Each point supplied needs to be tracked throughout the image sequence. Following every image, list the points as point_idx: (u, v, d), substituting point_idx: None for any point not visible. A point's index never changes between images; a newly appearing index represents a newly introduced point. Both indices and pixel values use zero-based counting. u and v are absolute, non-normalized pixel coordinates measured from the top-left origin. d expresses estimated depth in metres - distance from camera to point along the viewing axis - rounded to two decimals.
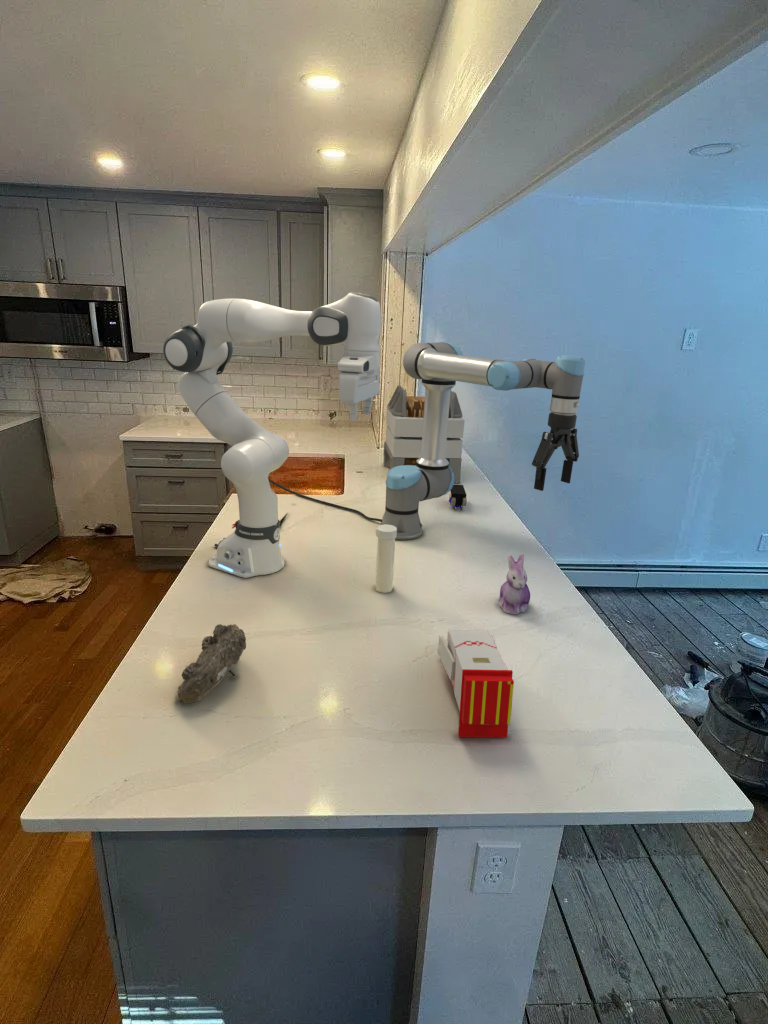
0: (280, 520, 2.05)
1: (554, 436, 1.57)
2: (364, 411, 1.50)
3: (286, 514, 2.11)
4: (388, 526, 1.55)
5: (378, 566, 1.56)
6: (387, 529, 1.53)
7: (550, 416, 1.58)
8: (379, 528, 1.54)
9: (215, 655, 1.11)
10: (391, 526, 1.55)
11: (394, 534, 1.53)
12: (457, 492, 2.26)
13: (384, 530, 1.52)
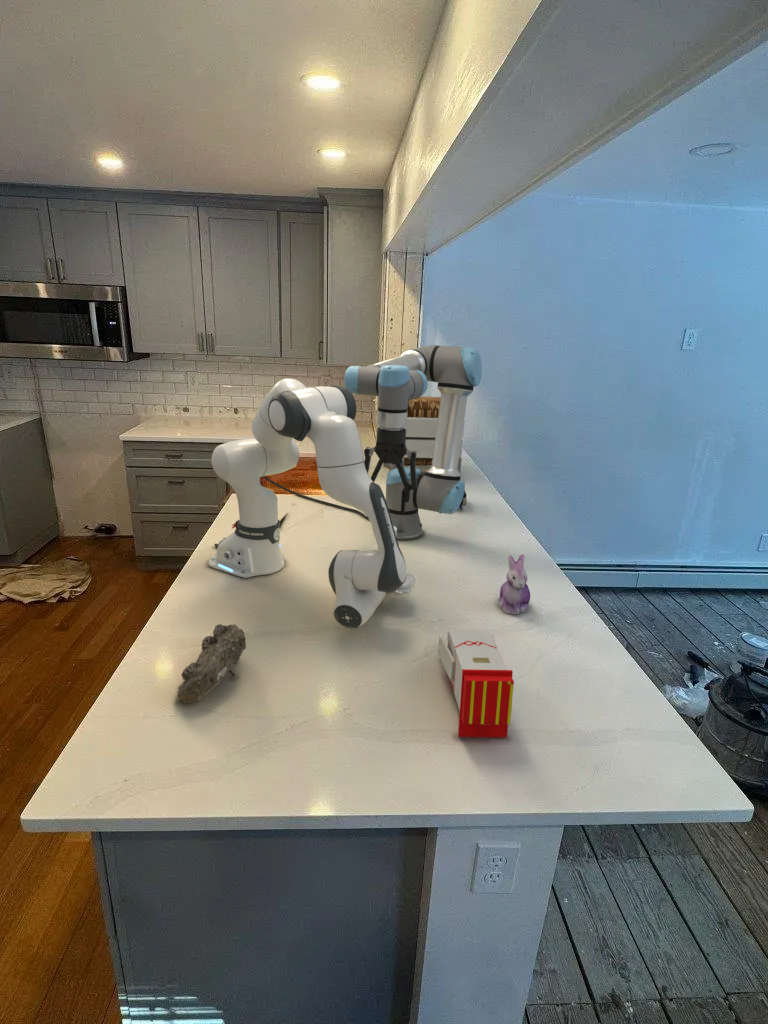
0: (280, 520, 2.05)
1: None
2: None
3: (286, 514, 2.11)
4: None
5: None
6: None
7: (403, 433, 1.43)
8: None
9: (215, 655, 1.11)
10: None
11: None
12: None
13: None
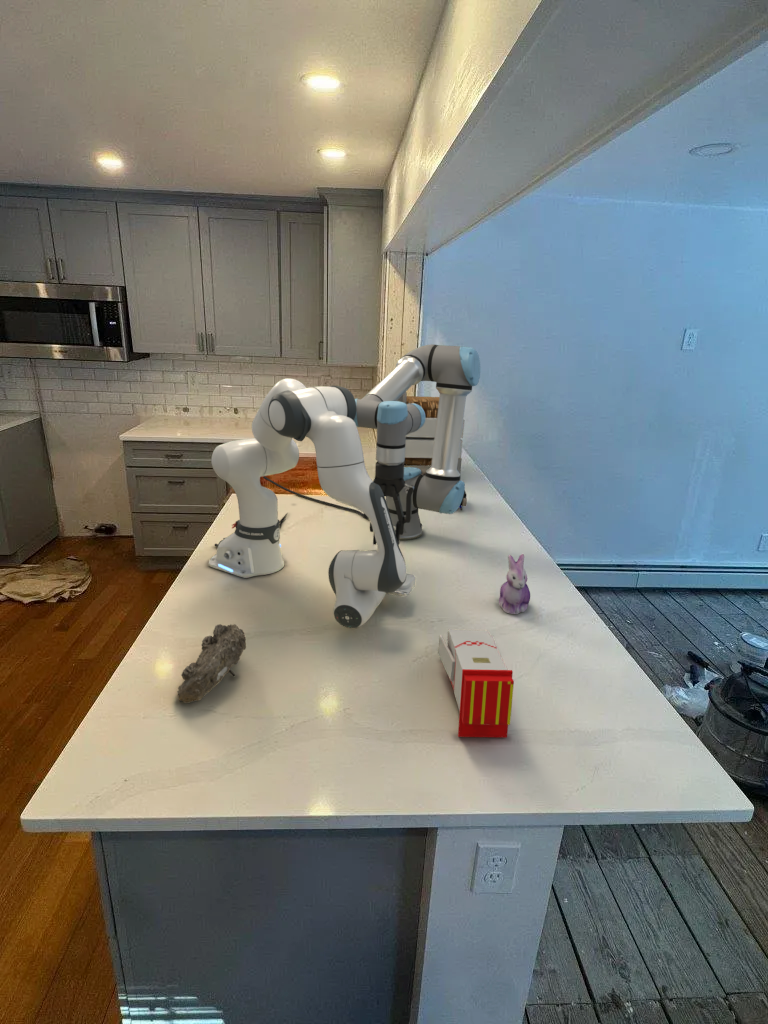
0: (280, 520, 2.05)
1: None
2: None
3: (286, 514, 2.11)
4: None
5: None
6: None
7: (401, 468, 1.46)
8: None
9: (215, 655, 1.11)
10: None
11: None
12: None
13: None
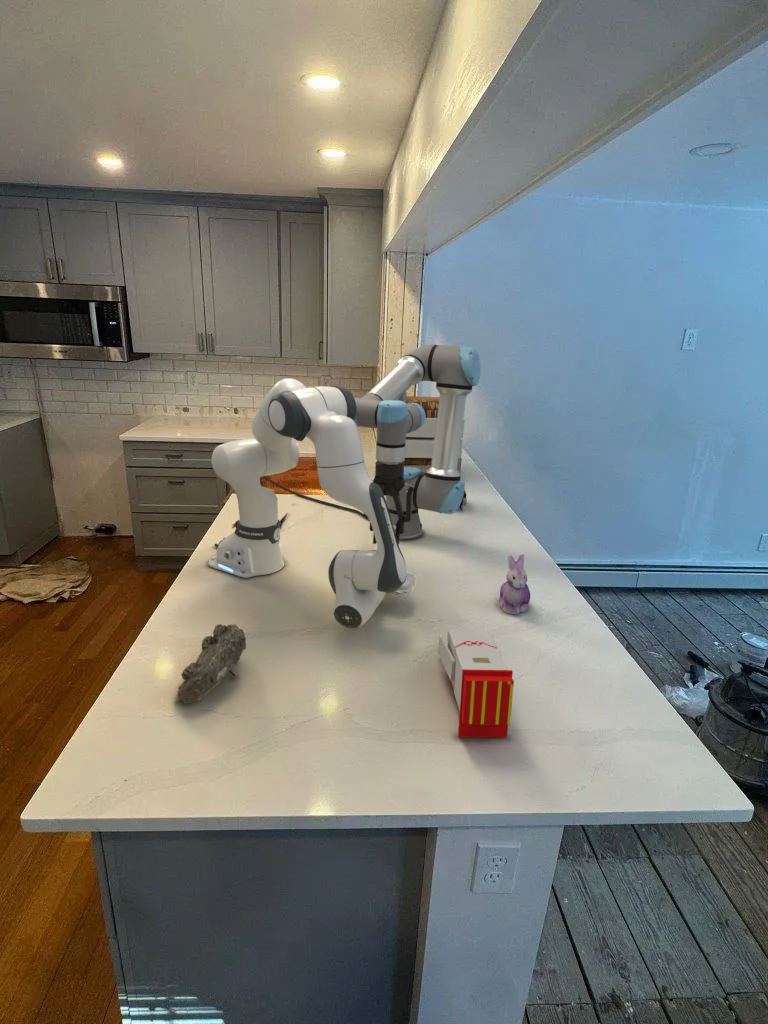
0: (280, 520, 2.05)
1: None
2: None
3: (286, 514, 2.11)
4: None
5: None
6: None
7: (401, 467, 1.46)
8: None
9: (215, 655, 1.11)
10: None
11: None
12: None
13: (393, 526, 1.55)
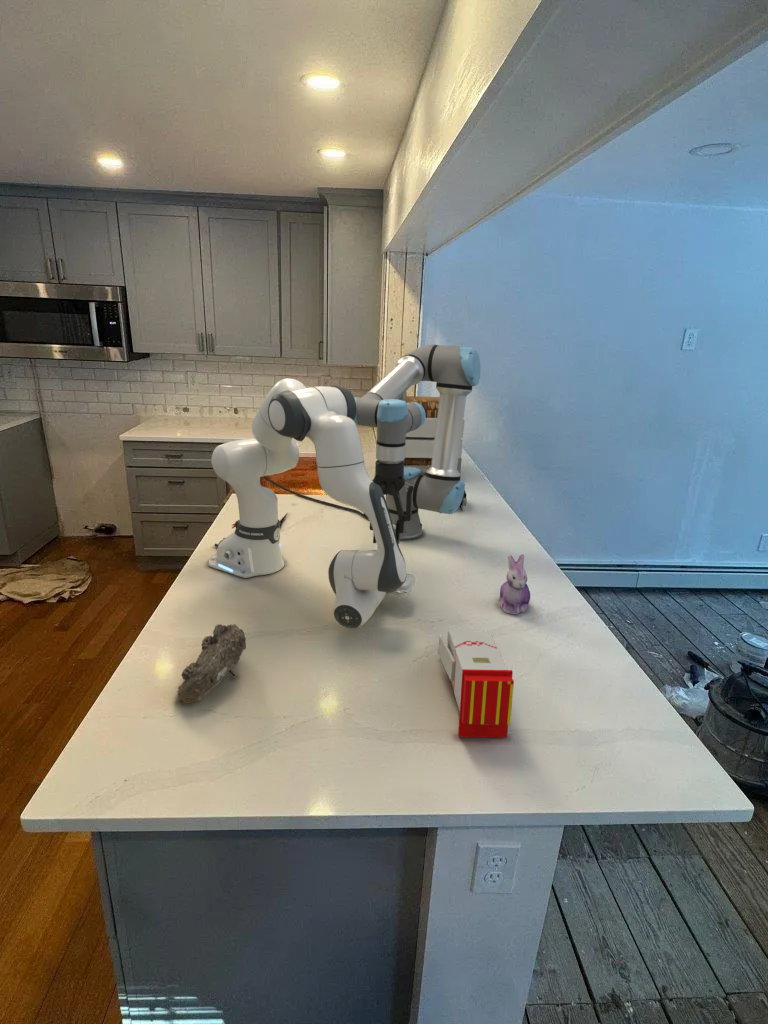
0: (280, 520, 2.05)
1: None
2: None
3: (286, 514, 2.11)
4: None
5: None
6: None
7: (401, 466, 1.46)
8: None
9: (215, 655, 1.11)
10: None
11: None
12: None
13: None
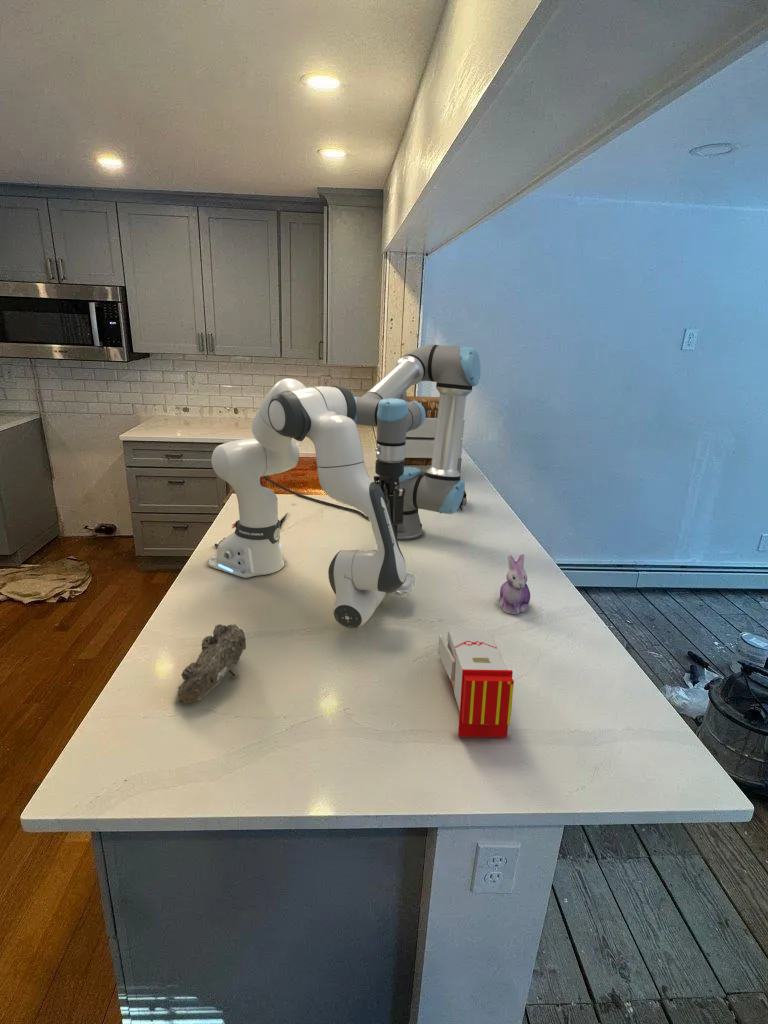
0: (280, 520, 2.05)
1: None
2: None
3: (286, 514, 2.11)
4: None
5: None
6: None
7: None
8: None
9: (215, 655, 1.11)
10: None
11: None
12: None
13: None
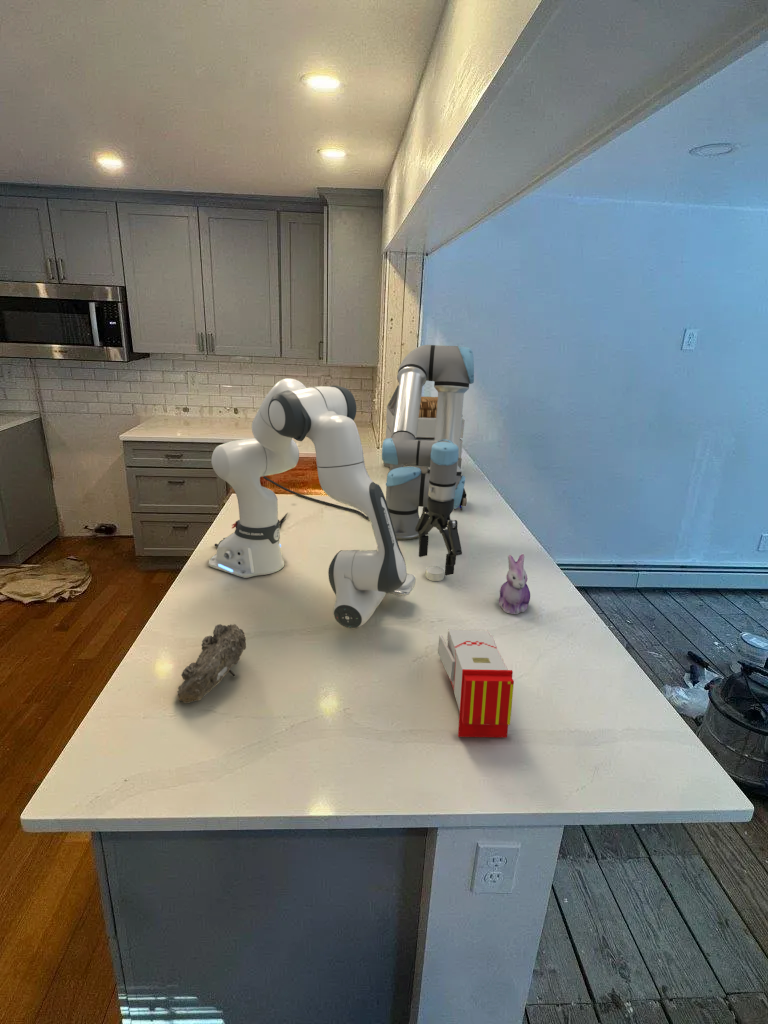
0: (280, 520, 2.05)
1: None
2: None
3: (286, 514, 2.11)
4: (434, 567, 1.69)
5: None
6: (437, 571, 1.67)
7: None
8: (430, 571, 1.67)
9: (215, 655, 1.11)
10: (436, 567, 1.70)
11: None
12: None
13: (436, 572, 1.66)
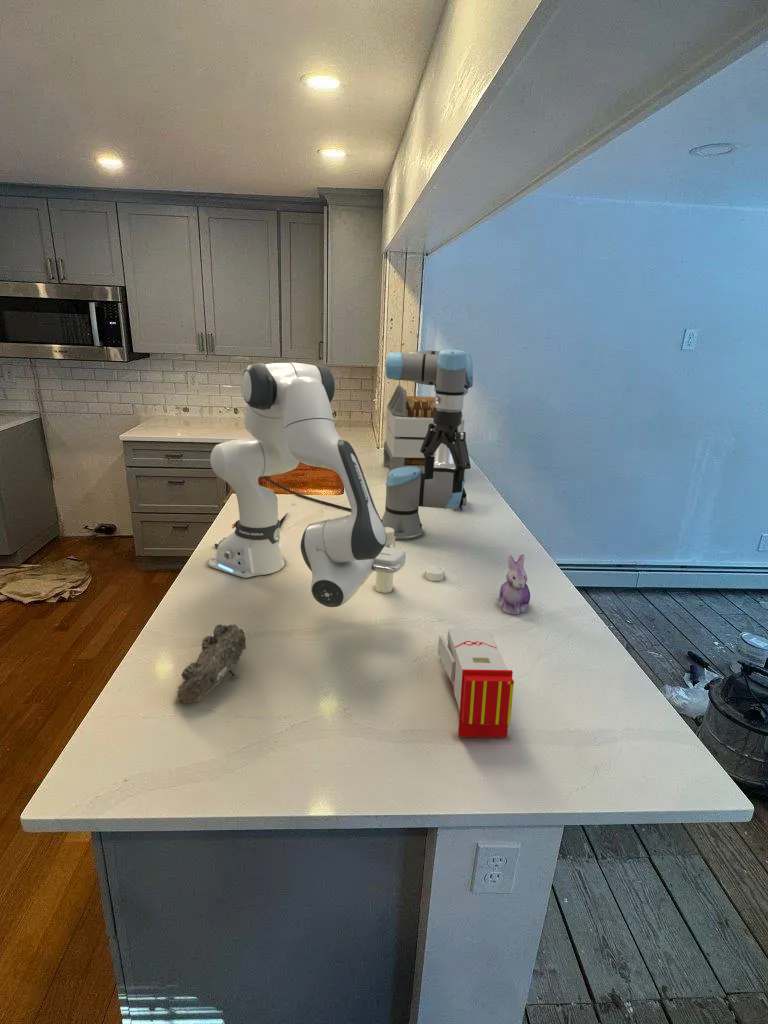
0: (280, 520, 2.05)
1: None
2: None
3: (286, 514, 2.11)
4: (434, 567, 1.69)
5: None
6: (437, 571, 1.67)
7: None
8: (430, 571, 1.67)
9: (215, 655, 1.11)
10: (436, 567, 1.70)
11: None
12: None
13: (436, 572, 1.66)
